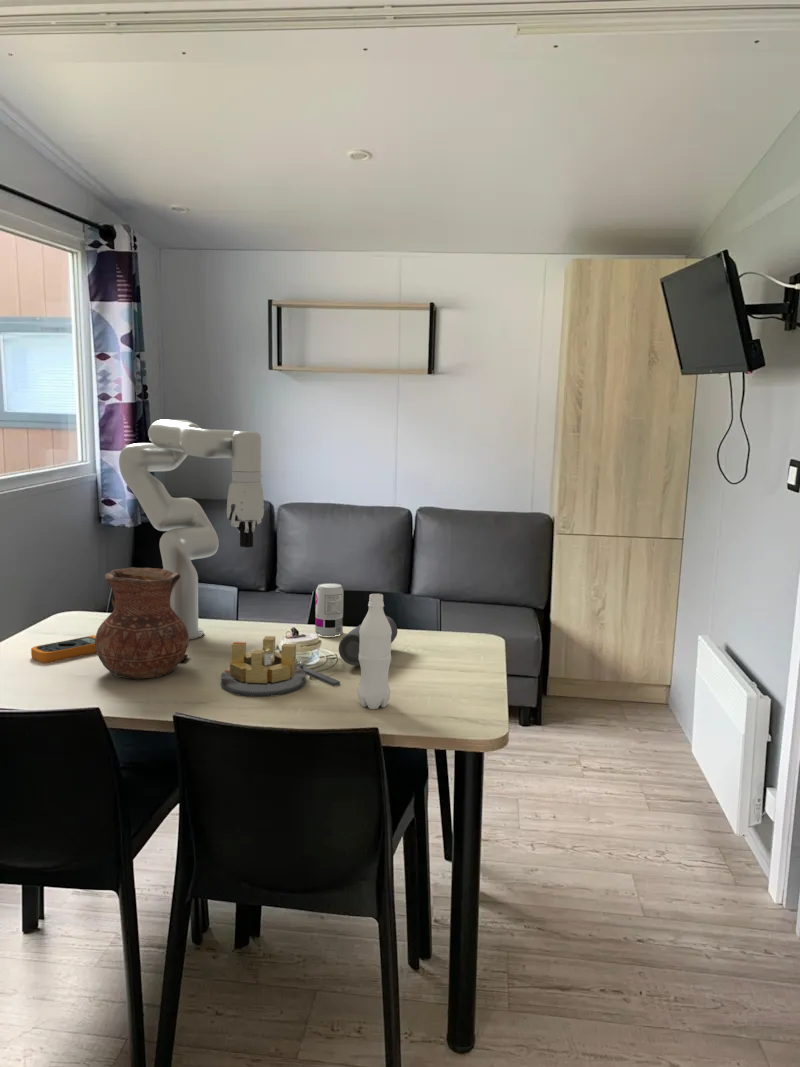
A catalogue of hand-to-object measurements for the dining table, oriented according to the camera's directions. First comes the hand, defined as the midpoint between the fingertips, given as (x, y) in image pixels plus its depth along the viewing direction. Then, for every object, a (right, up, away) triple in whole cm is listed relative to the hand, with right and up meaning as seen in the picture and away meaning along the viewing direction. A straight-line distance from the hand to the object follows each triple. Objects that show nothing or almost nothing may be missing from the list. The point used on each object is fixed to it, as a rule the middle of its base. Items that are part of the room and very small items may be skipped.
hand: (246, 546), depth 203 cm
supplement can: (+20, -27, +24) cm, 41 cm away
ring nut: (+8, -30, -21) cm, 38 cm away
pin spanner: (+21, -32, -16) cm, 42 cm away
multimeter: (-46, -29, -2) cm, 55 cm away
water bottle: (+35, -35, -35) cm, 61 cm away
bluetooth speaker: (+33, -30, +1) cm, 45 cm away
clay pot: (-23, -31, -15) cm, 41 cm away
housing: (+8, -32, -21) cm, 39 cm away
